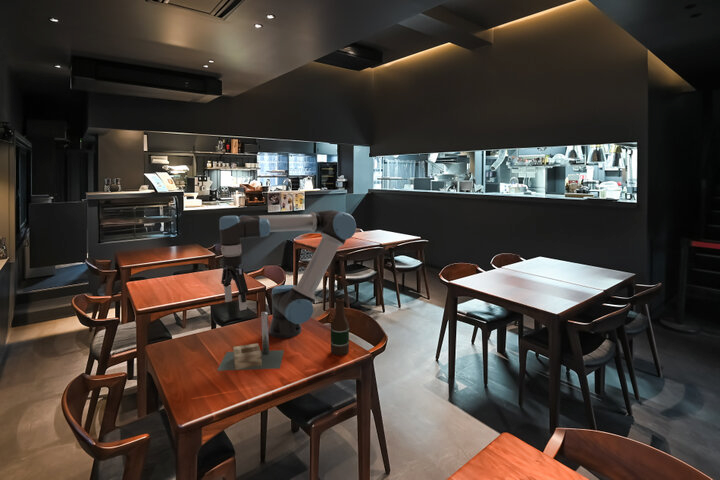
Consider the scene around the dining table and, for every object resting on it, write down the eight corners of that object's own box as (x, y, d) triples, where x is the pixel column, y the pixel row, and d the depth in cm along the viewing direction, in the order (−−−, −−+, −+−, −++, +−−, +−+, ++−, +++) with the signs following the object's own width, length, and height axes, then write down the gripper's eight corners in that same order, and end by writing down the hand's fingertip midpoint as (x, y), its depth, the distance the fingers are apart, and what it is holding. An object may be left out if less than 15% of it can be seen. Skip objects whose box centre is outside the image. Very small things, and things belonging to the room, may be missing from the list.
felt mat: (284, 350, 170) (284, 350, 170) (279, 369, 154) (279, 368, 154) (227, 352, 168) (226, 351, 168) (216, 371, 152) (216, 370, 152)
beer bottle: (340, 346, 175) (340, 294, 170) (352, 352, 169) (352, 298, 165) (327, 352, 169) (326, 298, 165) (339, 358, 164) (339, 302, 160)
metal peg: (268, 351, 168) (267, 311, 165) (269, 354, 166) (268, 313, 163) (262, 352, 167) (260, 312, 164) (263, 355, 165) (261, 314, 162)
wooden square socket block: (258, 354, 166) (258, 343, 165) (261, 365, 156) (261, 353, 156) (233, 358, 162) (233, 346, 161) (235, 369, 153) (234, 357, 152)
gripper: (210, 251, 164) (214, 300, 168) (236, 261, 145) (240, 315, 149) (227, 248, 169) (231, 296, 173) (255, 258, 150) (258, 310, 154)
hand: (235, 305), depth 161 cm, fingers open, 13 cm apart
